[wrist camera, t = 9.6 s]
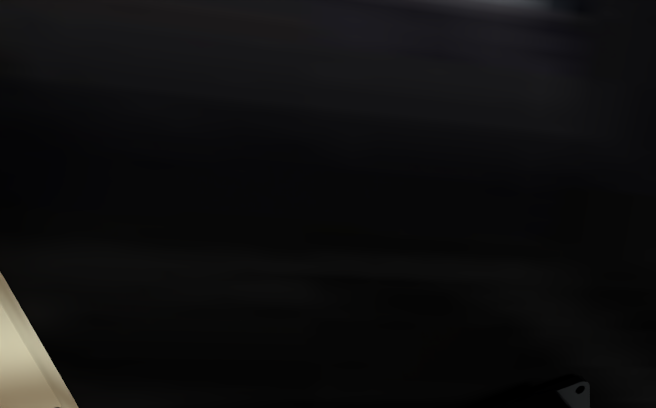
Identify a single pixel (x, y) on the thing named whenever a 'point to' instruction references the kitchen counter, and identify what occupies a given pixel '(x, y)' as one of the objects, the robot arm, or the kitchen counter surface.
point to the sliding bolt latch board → (26, 362)
